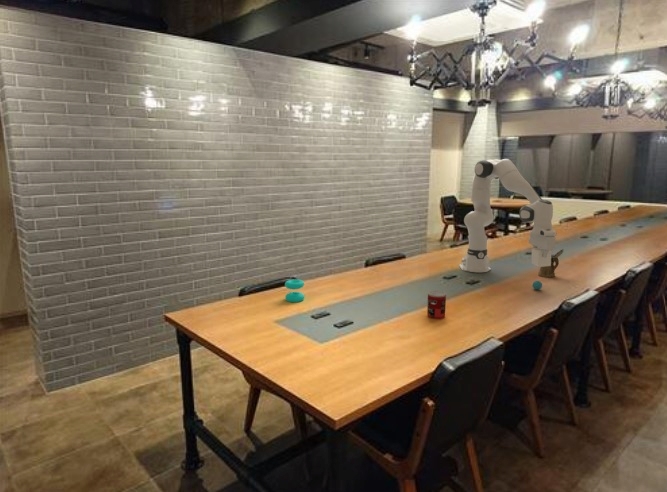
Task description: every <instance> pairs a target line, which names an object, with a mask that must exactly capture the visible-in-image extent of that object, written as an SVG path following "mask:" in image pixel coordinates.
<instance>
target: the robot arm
mask: <svg viewBox="0 0 667 492" xmlns="http://www.w3.org/2000/svg"><path fill="white" fill-rule="evenodd" d="M493 179H497V180H498V179H499V181H500V184H501V185H502V186H503V187H504V188H505V190H507V192H508V191H509V192H513V193H516V194H520V195H521V196H524V197H525V198H526V199H527V200H528V202H529V203H530V204H527V205H523V206H522V207H521V208H520V209H519V212H518V213H519V218H520V220H521V221H522V222H524V223H533V228H532V229H531V231H530V232H529V237H528V243H529V245H530V246H532V247H533V248H542V249H544V253H543V254H542V257H544V258H546V257H547V254H548V252H549V251H551V252H552V251H554V250H555V248H556V241H557V240H556V239H557V238H556V236H557V231H556V230H555V229H554V228H553V224H552V220H553V216H554V215H553V214H554V206H553V203H552V201H550V200H548V199H543V198H542V197H541V196H540V194H539V193H538V192H537V191H536V189H535V188H534V186H532V184H531V183H529V181H527V180H526V179H525V178H524V177H523V175H522V174H521V173H520V171H519V170H518V168H517V166H516V165H515V164H514V162H513V161H511V159H509V158H504V159H493V158H491V159H482V160H478V161H477V162H476V163H475V165H474V175H473V179H472V185H471V198H470V199H471V203H472V204H473V208H474V211H473V210H472V211H470V212H468V213H466V215H465V216H464V218H463V223H464V225H465V226H466V228H467V231H468V248H467V252H466V253H467V254H465V255H464V256H463V258H462V259H461V263H459V264H458V266H459V268H460V269H461V271H463V272H471V273H487V272H489V271H491V269H492V268H491V267H490V257H488V235H486V231H485V227H488V226H489V225H491V224H492V223H493V221H494V218H495V217H494V214H493V212H492V208H491V207H492V206H491V187H492V185H491V183H492V181H493Z"/></svg>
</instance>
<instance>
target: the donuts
mask: <svg viewBox="0 0 667 492" xmlns="http://www.w3.org/2000/svg"><path fill="white" fill-rule="evenodd" d="M304 286H305V281H304V280H302V279H298V278H297V279H288V280H287V281H285V283H284V287H286V288H287V289H289V290H300V289H302V288H303V287H304ZM284 298H285V301H287V302H291V303H298V302H302V301H304V299H305V298H306V297H305V295H304V292H303V293H302V292H300V291H291V292H290V291H289V292H288V293H286V294H285V297H284Z"/></svg>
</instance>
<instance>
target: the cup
mask: <svg viewBox="0 0 667 492" xmlns="http://www.w3.org/2000/svg"><path fill="white" fill-rule="evenodd" d="M543 253H544V249H542V248H539V247H538V248H531V265H533V266H535V267H537V268H540V267H545V266H551V258H552V251H549V252H548V254H547V257H546V258H544V257H542V254H543Z"/></svg>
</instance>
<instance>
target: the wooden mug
mask: <svg viewBox="0 0 667 492" xmlns="http://www.w3.org/2000/svg"><path fill="white" fill-rule="evenodd" d="M563 253H564V248H562V249H560V250H559V251H558V252H557V253H555V255H554V257H552V256H551V266H545V267H539V272H538V274H537V275H538V276H539V277H542V278H554V277H555V275H556V273H555V270H556V269H557V268H558V266H559V263H560V262H559V257H561V255H562V254H563Z"/></svg>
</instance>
